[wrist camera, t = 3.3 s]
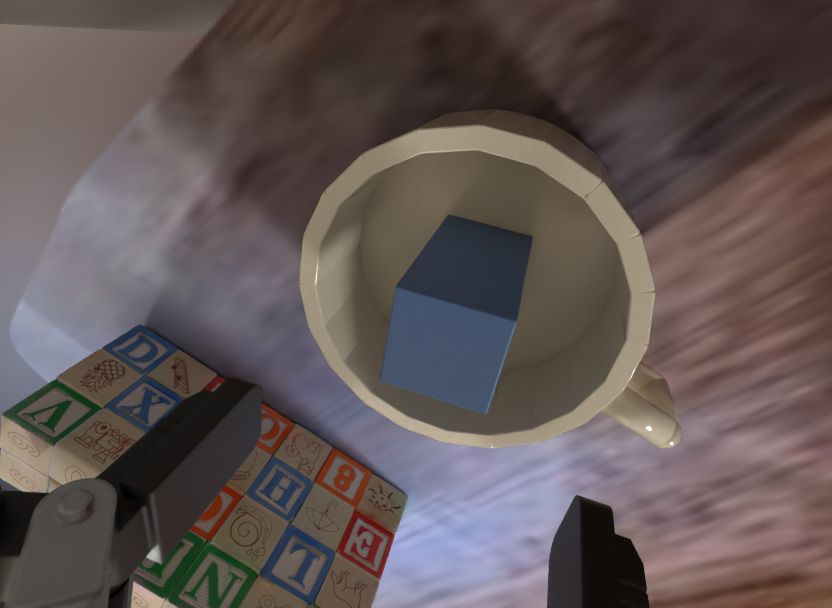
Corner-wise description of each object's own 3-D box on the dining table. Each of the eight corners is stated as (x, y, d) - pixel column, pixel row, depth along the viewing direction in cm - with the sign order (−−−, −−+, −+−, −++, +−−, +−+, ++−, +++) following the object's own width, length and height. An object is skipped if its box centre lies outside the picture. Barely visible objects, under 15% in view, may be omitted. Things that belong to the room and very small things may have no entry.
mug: (311, 284, 27) (257, 333, 22) (435, 41, 20) (393, 38, 15) (569, 453, 27) (569, 537, 22) (780, 276, 20) (846, 345, 15)
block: (431, 288, 24) (378, 381, 17) (447, 213, 22) (395, 285, 15) (509, 310, 24) (486, 416, 17) (533, 235, 22) (518, 320, 15)
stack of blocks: (125, 379, 35) (-66, 521, 24) (141, 320, 32) (-71, 454, 21) (371, 538, 36) (289, 743, 25) (412, 496, 32) (338, 711, 22)
